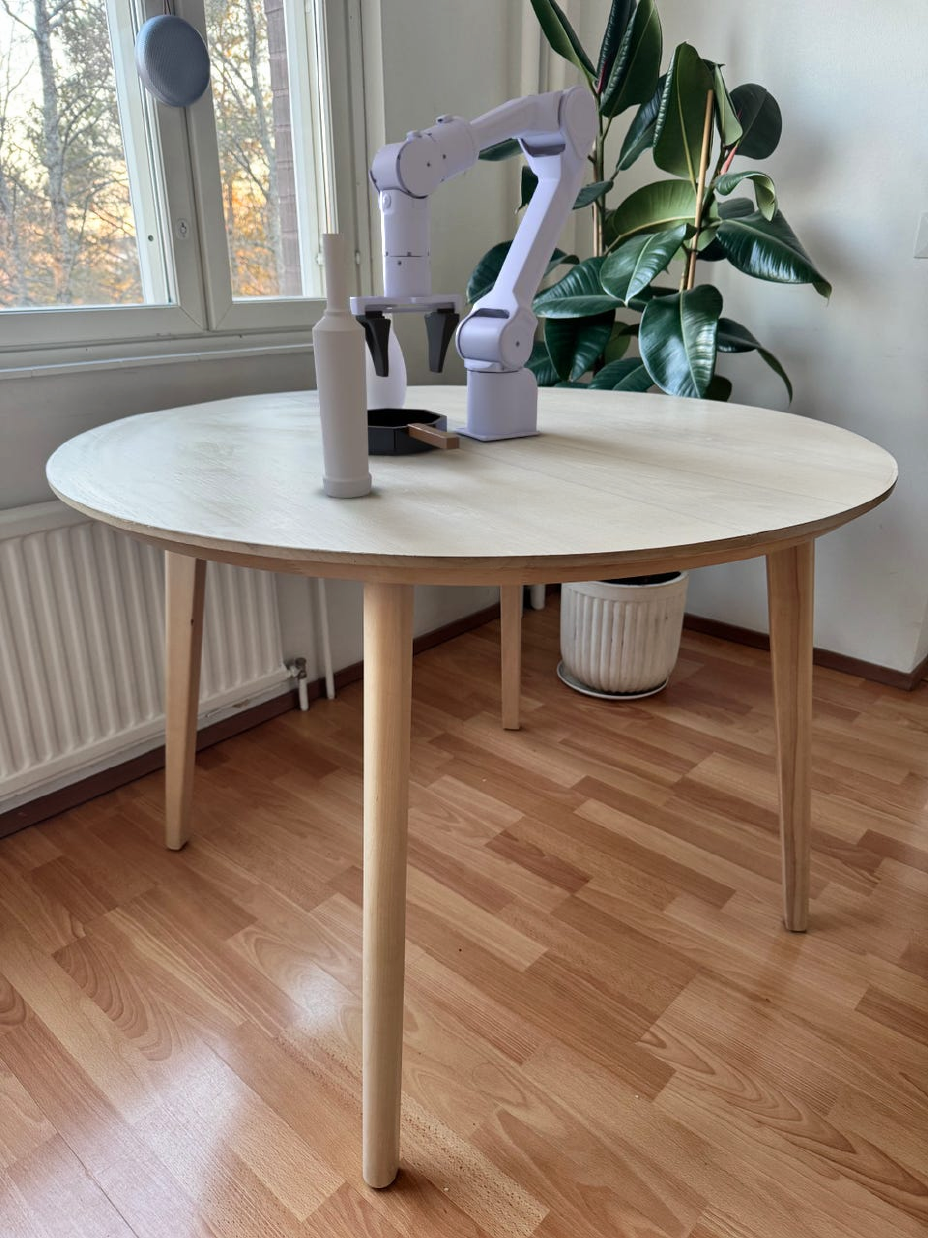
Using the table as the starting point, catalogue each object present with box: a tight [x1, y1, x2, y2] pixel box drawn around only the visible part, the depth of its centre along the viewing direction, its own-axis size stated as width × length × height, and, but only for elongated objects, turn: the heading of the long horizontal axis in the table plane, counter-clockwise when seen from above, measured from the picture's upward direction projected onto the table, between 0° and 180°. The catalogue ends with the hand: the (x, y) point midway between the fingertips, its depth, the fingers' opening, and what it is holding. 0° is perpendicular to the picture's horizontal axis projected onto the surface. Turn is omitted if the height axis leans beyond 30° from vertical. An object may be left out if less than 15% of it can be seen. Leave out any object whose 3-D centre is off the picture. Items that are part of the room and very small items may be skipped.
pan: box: [367, 407, 461, 456], centre depth 107 cm, size 14×24×4 cm, turn 31°
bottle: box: [311, 233, 373, 499], centre depth 84 cm, size 5×5×25 cm
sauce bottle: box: [365, 294, 408, 410], centre depth 120 cm, size 8×8×18 cm
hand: (409, 374), depth 105 cm, fingers open, 7 cm apart
